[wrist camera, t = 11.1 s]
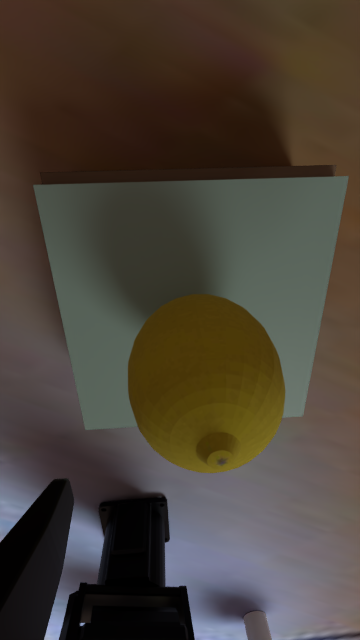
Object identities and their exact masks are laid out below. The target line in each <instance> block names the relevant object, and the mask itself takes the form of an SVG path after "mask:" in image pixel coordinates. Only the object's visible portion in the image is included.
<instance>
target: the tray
mask: <svg viewBox="0 0 360 640" xmlns="http://www.w3.org/2000/svg"><path fill="white" fill-rule="evenodd" d="M335 171H336V165H315V166H276V167H237V168H198V169H159V170H119V171H80V172H41V173H40V175H41V180H42V185H52V184H88V183H124V182H160V181H196V180H232V179H267V178H303V177H334V176H335Z"/></svg>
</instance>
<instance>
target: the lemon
mask: <svg viewBox="0 0 360 640" xmlns="http://www.w3.org/2000/svg"><path fill="white" fill-rule="evenodd" d="M128 394H129V400H130V404H131V408H132V411H133V414H134V417H135V420H136V423H137V425H138V428H139V430H140V432H141V433H142V434H143V436H144V437H145V439H146V440H147V442H148V443H149V444H150V445H151V447H152V448H153V449H154V450H155V451H156V452H158V453H159V454H160V455H161V456H162V457H164V458H165V459H166V460H168V461H169V462H171V463H173V464H175V465H177V466H180V467H182V468H184V469H187V470H191V471H196V472H201V473H217V472H224V471H228V470H231V469H235V468H238V467H240V466H242V465H244V464H246V463H248V462H249V461H251V460H252V459H253V458H254V457H256V456H257V455H258V454H259V453H260V452H262V451H263V450H264V449H265V447H266V446H267V445H268V444H269V442H270V441H271V440H272V438H273V437H274V435H275V434H276V431H277V429H278V427H279V425H280V422H281V420H282V416H283V413H284V403H285V382H284V377H283V373H282V368H281V363H280V359H279V355H278V353H277V350H276V348H275V346H274V344H273V342H272V341H271V339H270V337H269V335H268V334H267V332H266V330H265V328H264V327H263V326H262V324H261V323H260V322H259V321H258V320H257V319H255V318H254V317H253V316H252V315H251V314H250V313H249V312H248V311H247V310H246V309H245V308H243V307H242V306H240V305H238V304H236V303H234V302H232V301H230V300H228V299H226V298H223V297H219V296H215V295H210V294H191V295H187V296H183V297H179V298H176V299H174V300H172V301H170V302H168V303H166V304H164V305H162V306H161V307H160V308H159V309H158V310H157V311H155V312H154V313H153V314H152V315H151V316H150V317H149V318H148V319H147V320H146V322H145V323H144V325H143V326H142V328H141V330H140V331H139V333H138V334H137V336H136V338H135V340H134V344H133V347H132V350H131V354H130V357H129V361H128Z"/></svg>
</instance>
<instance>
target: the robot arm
mask: <svg viewBox="0 0 360 640" xmlns="http://www.w3.org/2000/svg"><path fill="white" fill-rule="evenodd" d="M73 505H74V497H73V493H72V489H71V485H70V482H69V480H68V479H67V478H64V479H55V480H53V481H52V482H51V483H50V484H49V485H48V486H47V488H46V489H45V490H44V491H43V492H42V494H41V495H40V496H39V497H38V498H37V499H36V501H35V502H34V503H33V504H32V505H31V507H30V508H29V509H28V510H27V511H26V513H25V514H24V515H23V516H22V517H21V518H20V520H19V521H18V522H17V523H16V524H15V526H14V527H13V528H12V529H11V530H10V532H9V533H8V534H7V535H6V536H5V537H4V539H3V540H2V541H1V542H0V640H44V637H45V634H46V630H47V626H48V622H49V619H50V615H51V611H52V607H53V604H54V600H55V596H56V592H57V589H58V585H59V581H60V577H61V573H62V569H63V564H64V559H65V553H66V547H67V541H68V535H69V529H70V523H71V517H72V511H73ZM99 515H100V519H101V524H102V528H103V533H104V543H103V550H102V556H101V562H100V569H99V575H98V581H97V584H87V583H82V582H80V587H79V591H76V592H75V593H73V594H70V595H69V599H68V604H67V608H66V613H65V617H64V622H63V626H62V629H61V633H60V637H59V640H195V638H194V632H193V626H192V619H191V613H190V607H189V601H188V594H187V588H186V586H179V587H165V542H168V541H169V540H170V535H169V521H168V506H167V499H166V498H151V499H139V500H127V501H114V502H103V503H101V504H100V505H99ZM80 623H85V624H84V625H83V626H80Z"/></svg>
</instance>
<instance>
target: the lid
mask: <svg viewBox="0 0 360 640" xmlns="http://www.w3.org/2000/svg"><path fill="white" fill-rule="evenodd" d="M348 177H349V176H339V177H303V178H267V179H232V180H196V181H160V182H124V183H88V184H52V185H33V187H34V191H35V196H36V201H37V205H38V210H39V215H40V219H41V224H42V229H43V234H44V238H45V243H46V248H47V252H48V257H49V262H50V266H51V271H52V276H53V280H54V285H55V290H56V295H57V299H58V304H59V309H60V313H61V318H62V323H63V327H64V332H65V337H66V341H67V346H68V351H69V356H70V360H71V365H72V370H73V374H74V379H75V384H76V388H77V393H78V398H79V402H80V407H81V412H82V417H83V421H84V426H85V430H94V429H110V428H126V427H138V425H137V423H136V420H135V417H134V414H133V411H132V408H131V404H130V400H129V394H128V361H129V357H130V354H131V350H132V347H133V344H134V340H135V338H136V336H137V334H138V333H139V331H140V330H141V328H142V326H143V325H144V323H145V322H146V320H147V319H148V318H149V317H150V316H151V315H152V314H153V313H154V312H155V311H157V310H158V309H159V308H160V307H161V306H162V305H164V304H166V303H168V302H170V301H172V300H174V299H176V298H179V297H183V296H187V295H191V294H210V295H215V296H219V297H223V298H226V299H228V300H230V301H232V302H234V303H236V304H238V305H240V306H242V307H243V308H245V309H246V310H247V311H248V312H249V313H250V314H251V315H252V316H253V317H254V318H255V319H257V320H258V321H259V322H260V323H261V324H262V326H263V327H264V328H265V330H266V332H267V334H268V335H269V337H270V339H271V341H272V342H273V344H274V346H275V348H276V350H277V353H278V355H279V359H280V363H281V368H282V373H283V377H284V382H285V403H284V413H283V416H282V418H283V417H299V416H303V413H304V408H305V403H306V397H307V392H308V387H309V382H310V376H311V371H312V366H313V361H314V355H315V350H316V345H317V340H318V334H319V329H320V324H321V319H322V313H323V308H324V303H325V298H326V293H327V287H328V282H329V277H330V272H331V266H332V261H333V256H334V251H335V245H336V240H337V235H338V230H339V224H340V219H341V214H342V209H343V203H344V198H345V193H346V188H347V182H348Z"/></svg>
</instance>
